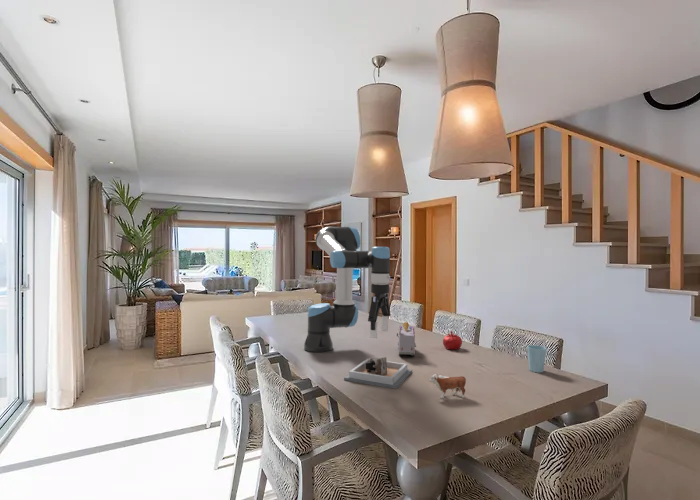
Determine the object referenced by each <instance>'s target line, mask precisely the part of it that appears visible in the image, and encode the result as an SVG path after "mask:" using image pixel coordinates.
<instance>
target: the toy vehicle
mask: <svg viewBox="0 0 700 500" xmlns="http://www.w3.org/2000/svg"><path fill="white" fill-rule="evenodd" d="M396 337H397V338H398V340H397V345H398V346H397V348H398V356H403V355H410V356H411V357H414V356H415V355H416V352H415V350H416V349H415V348H417V344H416V341H415V340H416V339H415V337H416V336H415V327H414V326H410V324H409V323H408V322H407V321H405V322H403V323H402V326H401V325H399V329H398V332H397V333H396Z"/></svg>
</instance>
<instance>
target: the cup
mask: <svg viewBox="0 0 700 500" xmlns="http://www.w3.org/2000/svg"><path fill="white" fill-rule="evenodd" d="M526 348H527V359H528V369H529V371H531V372H532V373H540V374H541V373H544V369H545V361H546V354H547V348H546V347H545V346H543V345H535V344H530V345H529V344H528V345H526Z"/></svg>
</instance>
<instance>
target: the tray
mask: <svg viewBox="0 0 700 500" xmlns="http://www.w3.org/2000/svg"><path fill="white" fill-rule="evenodd" d="M370 359H371V358H366V359H365V360H363V361H362V362H360V363H359V364H358V365H356V366H355V367H353V368H352V369H350V370H349V371H348V374H347V375H345V376H344V377H343V380H344V381H348V382H353V383H359V384H366V385H371V386H376V387H377V386H378V387H383V388H388V389H389V388H390V389H395V390H397V389H398V388H399V387H400V386H401V385H402V383H404V381H405V380H406V379H407V378H408V377H409V376H410V375H412V372H413V369H410V368H409V369H408V363H404V362H395V361H389V360H387V374H386V375H381V374H371V371H370V370H367V369H366V363H370Z"/></svg>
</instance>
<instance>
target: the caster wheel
mask: <svg viewBox="0 0 700 500" xmlns="http://www.w3.org/2000/svg"><path fill="white" fill-rule="evenodd" d="M369 359H370V363H366V369H367V370H370V371H371V374H381V375H386V374H387V361H388V360H387V356H385V357H379V358H369Z"/></svg>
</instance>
